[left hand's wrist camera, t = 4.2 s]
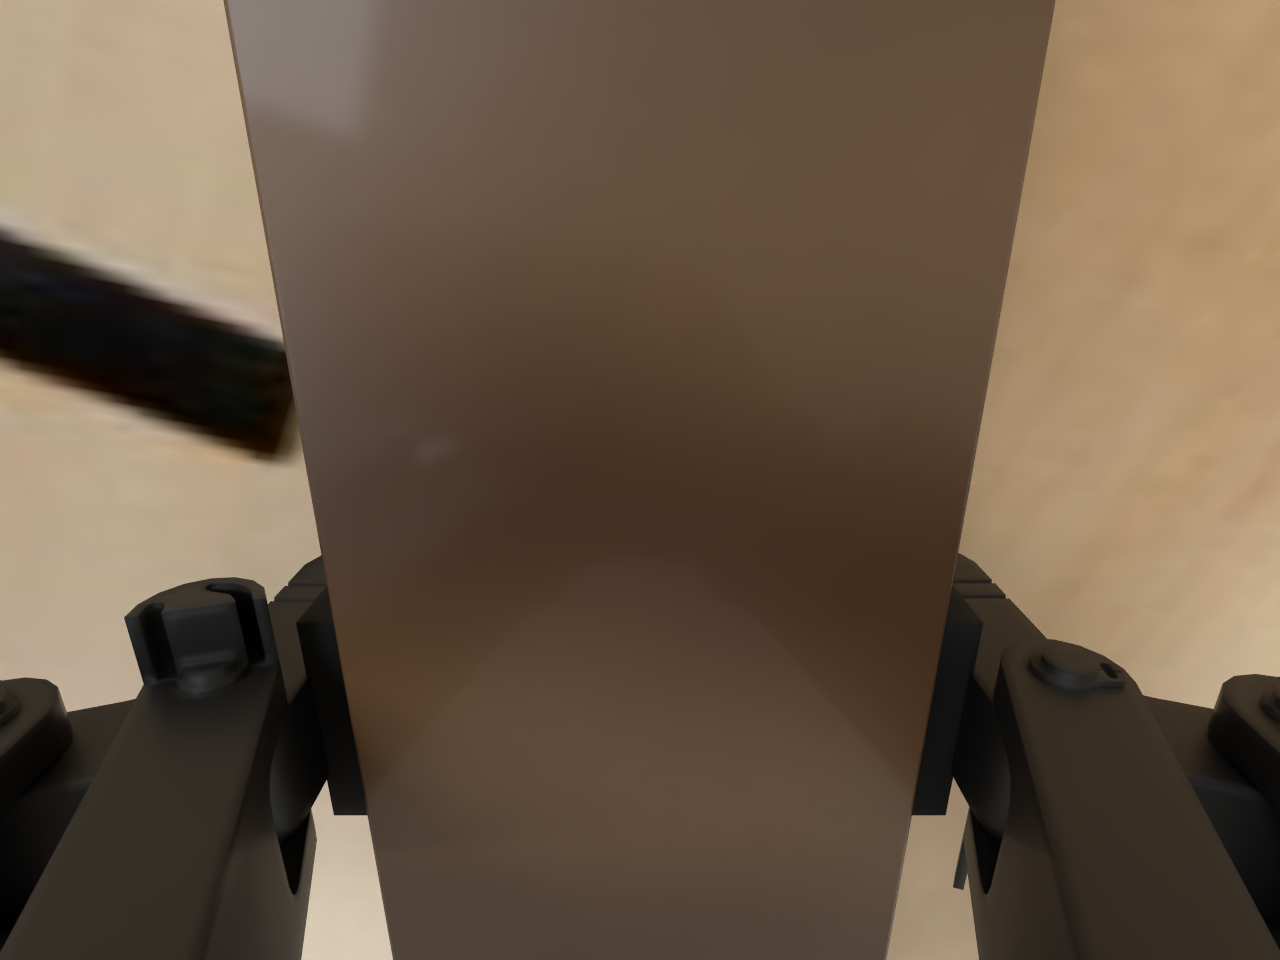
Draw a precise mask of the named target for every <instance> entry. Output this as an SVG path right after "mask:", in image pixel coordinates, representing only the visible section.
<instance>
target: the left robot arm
mask: <svg viewBox="0 0 1280 960" xmlns="http://www.w3.org/2000/svg"><path fill="white" fill-rule="evenodd" d="M124 619H125V622H126V625H127V629H128V632H129V636H130V639H131V642H132V646H133V649H134V652H135V656H136V659H137V662H138V666H139V669H140V673H141V676H142V679H143V683H144V685H143V687H142V689H141V691H140V692H139V694H138V696H137V698H136V699H133V700H129V701H125V702H119V703H114V704H109V705H103V706H98V707H93V708H88V709H82V710H77V711H72V712H66V709H65V706H64V704H63V701H62V698H61V695H60V692H59V689H58V687H57V686H55V685H54V684H52V683H51V682H49V681H48V680H46V679H35V678H19V679H11V680H4V681H1V680H0V960H301V956H302V948H303V941H304V933H305V926H306V918H307V910H308V903H309V895H310V888H311V880H312V872H313V865H314V857H315V850H316V842H317V838H316V831H315V825H314V820H313V816H312V811H311V807H312V806H313V804H314V802H315V800H316V798H317V796H318V795H319V793H320V791H321V789H322V787H323V785H324V784H325V782H326V780H327V782H328V787H329V792H330V797H331V802H332V807H333V812H334V815H368V814H367V808H366V803H365V797H364V791H363V786H362V780H361V775H360V769H359V763H358V758H357V752H356V746H355V741H354V735H353V729H352V724H351V718H350V712H349V707H348V701H347V695H346V690H345V684H344V678H343V673H342V667H341V661H340V656H339V650H338V644H337V639H336V633H335V627H334V622H333V616H332V610H331V605H330V599H329V593H328V588H327V582H326V577H325V571H324V565H323V560H322V555H321V556H320V557H318V558H316V559H314V560H312V561H311V562H309V563H307V564H305V565H304V566H303V567H302V568H301V570H300V571H299V572H298V573H297V574H296V575H295V576H294V577H293V578H292V579H291V580H290V581H289V582H288V586H285V587H284V588H283V589H282V590H281V591H280V592H279V593H278V594H277V595H276V596H275V597H274V601H271V602H270V603H269V604H267V599H266V594H265V590H264V587H262V586H261V585H259V584H258V583H256V582H255V581H253V580H247V579H242V578H236V577H232V578H212V579H206V580H201V581H197V582H192V583H187V584H183V585H180V586H177V587H175V588H172V589H169V590H166V591H163V592H160V593H158V594H156V595H154V596H153V597H151V598H149V599H147V600H145V601H143V602H142V603H140V604H138V605H137V606H136V607H135V608H134V609H133V610H132V611H131V612H129V613H128V614H127V615H126V616H125V617H124ZM953 777H954V779H955V781H956V783H957V784H958V786H959V788H960V790H961V792H962V794H963V795H964V797H965V799H966V801H967V803H968V805H969V811H968V816H967V820H966V825H965V830H964V834H963V839H962V844H961V849H960V853H959V858H958V863H957V867H956V872H955V878H954V885H953V887H954V888H958V889H962V890H963V889H964V884H965V879H966V875H967V874H968V878H969V886H970V893H971V901H972V908H973V916H974V924H975V931H976V939H977V946H978V954H979V960H1280V677H1273V676H1266V675H1258V674H1251V675H1240V676H1234V677H1232V678H1231V679H1229V680H1227V681H1226V682H1224V683H1223V684H1222V687H1221V690H1220V693H1219V696H1218V699H1217V702H1216V705H1215V707H1214V709H1210V708H1205V707H1200V706H1194V705H1189V704H1184V703H1178V702H1173V701H1168V700H1162V699H1157V698H1152V697H1148V696H1144V695H1142V693H1141V691H1140V689H1139V687H1138V686H1137V684H1136V682H1135V681H1134V680H1133V679H1132V678H1131V677H1130V676H1129V674H1128V673H1127V672H1126V671H1125V670H1124V669H1123V668H1122V667H1120V666H1119V665H1117V664H1115V663H1114V662H1112V661H1111V660H1109V659H1108V658H1106V657H1105V656H1103V655H1101V654H1098V653H1096V652H1093V651H1091V650H1088V649H1086V648H1084V647H1081V646H1079V645H1074V644H1070V643H1066V642H1062V641H1058V640H1051V639H1047V638H1046V637H1045V636H1044V635H1043V634H1042V633H1041V632H1040V631H1039V630H1038V629H1037V628H1036V627H1035V626H1034V624H1033V623H1032V622H1031V621H1030V620H1029V619H1028V618H1027V617H1026V616H1025V615H1024V614H1023V613H1022V612H1021V611H1020V610H1019V609H1018V607H1017V606H1016V605H1015V604H1014V603H1013V602H1012V601H1011V600H1010V599H1006V595H1005V594H1004V593H1003V592H1002V590H1001V589H1000V588H999V587H998V586H997V585H996V584H995V583H992V580H991V579H990V578H989V577H988V576H987V575H986V573H985V572H984V571H983V570H982V569H981V568H980V567H979V566H978V565H977V564H976V563H975V562H974V561H972V560H970V559H968V558H967V557H965V556H963V555H961V554H959V553H958V555H957V561H956V566H955V572H954V578H953V583H952V589H951V595H950V601H949V606H948V612H947V618H946V623H945V629H944V635H943V640H942V646H941V652H940V657H939V663H938V669H937V674H936V680H935V686H934V691H933V697H932V703H931V708H930V714H929V720H928V725H927V731H926V737H925V742H924V748H923V754H922V759H921V765H920V771H919V776H918V782H917V788H916V793H915V799H914V805H913V810H912V815H946V810H947V805H948V799H949V794H950V789H951V784H952V779H953Z"/></svg>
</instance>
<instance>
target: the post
mask: <svg viewBox="0 0 1280 960" xmlns="http://www.w3.org/2000/svg"><path fill="white" fill-rule="evenodd" d="M224 5H225V11H226V16H227V22H228V28H229V33H230V39H231V45H232V50H233V56H234V62H235V67H236V73H237V79H238V84H239V90H240V96H241V101H242V107H243V113H244V118H245V124H246V130H247V135H248V141H249V147H250V152H251V158H252V164H253V169H254V175H255V181H256V186H257V192H258V197H259V203H260V209H261V214H262V220H263V226H264V231H265V237H266V243H267V248H268V254H269V260H270V265H271V271H272V277H273V282H274V288H275V294H276V299H277V305H278V311H279V316H280V322H281V328H282V333H283V339H284V345H285V350H286V356H287V362H288V367H289V373H290V379H291V384H292V390H293V395H294V401H295V407H296V412H297V418H298V424H299V429H300V435H301V441H302V446H303V452H304V458H305V463H306V469H307V475H308V480H309V486H310V492H311V497H312V503H313V509H314V514H315V520H316V526H317V531H318V537H319V543H320V548H321V554H322V560H323V565H324V571H325V577H326V582H327V588H328V593H329V599H330V605H331V610H332V616H333V622H334V627H335V633H336V639H337V644H338V650H339V656H340V661H341V667H342V673H343V678H344V684H345V690H346V695H347V701H348V707H349V712H350V718H351V724H352V729H353V735H354V741H355V746H356V752H357V758H358V763H359V769H360V775H361V780H362V786H363V791H364V797H365V803H366V808H367V814H368V820H369V825H370V831H371V837H372V842H373V848H374V854H375V859H376V865H377V871H378V876H379V882H380V888H381V893H382V899H383V905H384V910H385V916H386V922H387V927H388V933H389V939H390V944H391V950H392V956H393V960H886V958H887V952H888V946H889V941H890V935H891V929H892V924H893V918H894V912H895V907H896V901H897V895H898V890H899V884H900V878H901V873H902V867H903V861H904V856H905V850H906V844H907V839H908V833H909V827H910V822H911V816H912V810H913V805H914V799H915V793H916V788H917V782H918V776H919V771H920V765H921V759H922V754H923V748H924V742H925V737H926V731H927V725H928V720H929V714H930V708H931V703H932V697H933V691H934V686H935V680H936V674H937V669H938V663H939V657H940V652H941V646H942V640H943V635H944V629H945V623H946V618H947V612H948V606H949V601H950V595H951V589H952V583H953V578H954V572H955V566H956V561H957V555H958V549H959V544H960V538H961V532H962V527H963V521H964V515H965V510H966V504H967V498H968V493H969V487H970V481H971V476H972V470H973V464H974V459H975V453H976V447H977V442H978V436H979V430H980V425H981V419H982V413H983V408H984V402H985V396H986V391H987V385H988V379H989V374H990V368H991V362H992V357H993V351H994V345H995V340H996V334H997V328H998V323H999V317H1000V311H1001V306H1002V300H1003V294H1004V289H1005V283H1006V277H1007V272H1008V266H1009V260H1010V255H1011V249H1012V243H1013V238H1014V232H1015V226H1016V221H1017V215H1018V209H1019V204H1020V198H1021V192H1022V187H1023V181H1024V175H1025V169H1026V164H1027V158H1028V152H1029V147H1030V141H1031V135H1032V130H1033V124H1034V118H1035V113H1036V107H1037V101H1038V96H1039V90H1040V84H1041V79H1042V73H1043V67H1044V62H1045V56H1046V50H1047V45H1048V39H1049V33H1050V28H1051V22H1052V16H1053V11H1054V5H1055V0H224Z"/></svg>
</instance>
